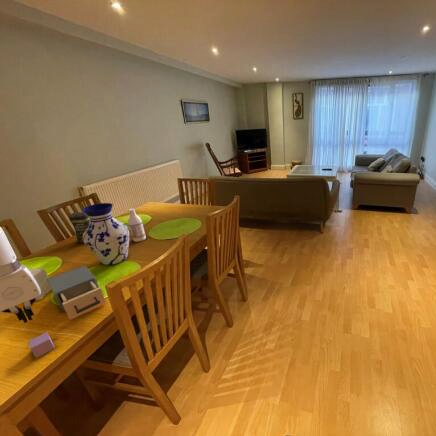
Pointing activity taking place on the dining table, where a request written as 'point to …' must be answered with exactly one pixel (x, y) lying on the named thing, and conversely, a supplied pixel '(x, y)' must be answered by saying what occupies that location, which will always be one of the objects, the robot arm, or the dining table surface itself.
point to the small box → (41, 280)
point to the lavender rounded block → (41, 345)
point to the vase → (106, 235)
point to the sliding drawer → (82, 299)
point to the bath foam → (136, 227)
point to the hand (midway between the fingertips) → (27, 319)
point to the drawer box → (70, 281)
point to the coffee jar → (79, 224)
